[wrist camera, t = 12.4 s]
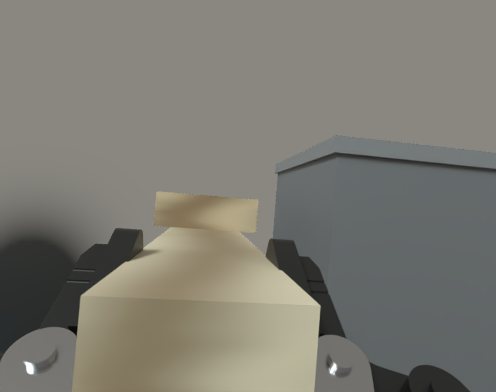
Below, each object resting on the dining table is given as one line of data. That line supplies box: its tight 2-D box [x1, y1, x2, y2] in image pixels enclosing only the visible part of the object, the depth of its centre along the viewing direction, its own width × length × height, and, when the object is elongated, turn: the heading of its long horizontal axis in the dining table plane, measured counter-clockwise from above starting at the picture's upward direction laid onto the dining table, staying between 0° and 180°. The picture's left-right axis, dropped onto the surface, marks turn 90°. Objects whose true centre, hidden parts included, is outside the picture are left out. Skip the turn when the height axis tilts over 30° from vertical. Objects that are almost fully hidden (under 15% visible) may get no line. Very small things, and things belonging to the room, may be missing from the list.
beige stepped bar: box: [72, 192, 321, 392], centre depth 16 cm, size 6×22×5 cm, turn 7°
